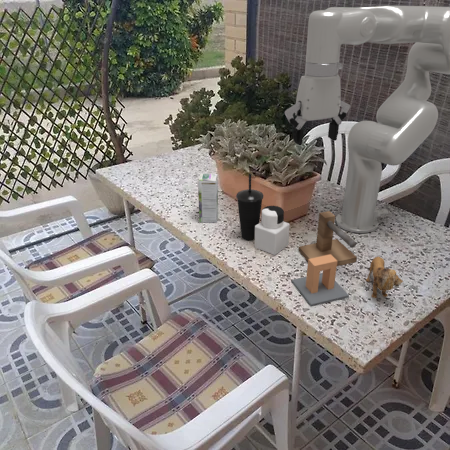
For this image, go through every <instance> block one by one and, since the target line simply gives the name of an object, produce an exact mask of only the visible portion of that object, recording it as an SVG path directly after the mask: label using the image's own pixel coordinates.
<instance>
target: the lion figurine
mask: <svg viewBox="0 0 450 450" xmlns="http://www.w3.org/2000/svg"><path fill="white" fill-rule="evenodd" d="M367 270H368V271H369V273H368V275H367V278H366V280H365V282H366V283H370V282H372V278H373V283H372V294H371V296H370V297H371V298H372V299H377V298H378V290H379V291H380V293H381V296H382V297H383V298H387V297H388V295H389V294H388V293H387V291H391V290H393V289H394V286H395V287H396V288H399V286H401V284H402V283H403V282H404V280H402V279H401V278H400V277H399V276H398V275H397V271H396V270H395V269H391V268H385V260H384V258H383V257H381V256H376V257H374V258H373V259H372V261H371V262H370V266H369V267H367Z"/></svg>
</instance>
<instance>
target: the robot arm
mask: <svg viewBox="0 0 450 450" xmlns="http://www.w3.org/2000/svg"><path fill="white" fill-rule="evenodd" d="M307 24H308V25H307V36H306V37H307V40H306V55H305V67H304V68H305V69H304V75H301V77H300V80H299V84H298V89H297V92H296V98H295V100H296V101H295V104H293V105H292V106H291V107H288V108H287V109H286V110H285V111H284V115H285V116H286V119H287V122H288V123H289V124H290V125H291V126H292V128H293V135H292V137H293V138H292V140H293V142H294V143H295V144H296V145H298V146H302V145H303V140H304V139H303V138H304V129H303V126H304V125H305V123H306V122H310V121H311V122H312V121H320V120H330V122H329V123H328V134H327V137H328V139H331V140H332V141H338V139H337V138H338V135H339V129H340V128H339V127H340V125H341V124H342V121H343V120H344V119H345V118H346V117H347V113H348V112H349V110H350V109H351V104H349V103H347V102H345V101H344V100H341V98H342V97H341V96H342V91H341V89H342V87H341V85H342V84H341V77H340V75H339V71H340V70H342V69H343V67H344V65H343V63H342V62H340V56H341V46H342V45H351V46H352V45H353V46H358V45H362V44H364V43H372V44H384V45H391V44H394V45H395V44H408V43H409V44H411V43H414V44H412V46H411V48H410V50H409V52H408V55H407V63H406V67H407V68H406V74H405V77H404V80H403V81H402V82H401V84H400V85H399V86H398V87H397V88H396V89H395V90H394V91H393V92H392V93H391V95H389V96H388V97H387V98H386V99H385V101H384V102H383V103H382V104H381V105H380V106H379V108H378V109H377V112H376V116H375V118H376V121H374V120H373V121H372V120H361V121H359V122H356V123H354V125H353V126H352V127H351V128H350V130H349V132H348V135H347V150H348V160H347V161H348V162H347V163H348V164H347V165H348V166H347V173H346V177H345V178H346V179H345V187H344V188H345V189H344V195H343V203H342V209H341V210H342V211H341V212H340V213H338V214H336V216H335V223H336V226H337V227H339V228H340V229H341V230H343V231H348V232H351V233H356V234H367V233H372V232H373V231H375V230H377V229H378V226H379V220H378V218H379V217H382V216H387V215H388V213H389V211H388V209H387V208H383V209H380V208H379V206H377V204H378V203H377V202H378V197H379V191H380V186H381V179H382V175H383V174H382V173H383V168H382V166H383V165H382V164H385V165H388V166H393V167H395V166H398V165H401V164H402V163H404V162H405V161H406V160H407V159H408V158H409V157H410V156H411V155H412V154H413V153H414V152H415V151H416V150H417V149H418V147H420V146H421V145H422V144H423V142H424V141H425V140H426V139H427V138H428V137H429V136H430V135H431V134H432V132H433V130H434V129H435V127H436V125H437V123H438V118H439V110H438V108H437V106H436V105H435V104H434V103H432V102H430V101H428V100H429V98H430V97H431V94H432V84H431V80H430V72H432V73H436V74H437V73H438V74H444V75H449V76H450V6H430V5H429V6H426V5H425V6H424V5H378V6H366V7H365V6H364V7H342V6H340V7H339V6H331V7H328V8H326V9H320V10H318V9H317V10H314V11H312V12H310V14H309V16H308V23H307ZM340 107H341V108H340ZM294 115H295V116H296V117H295V118H294Z"/></svg>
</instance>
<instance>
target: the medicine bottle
mask: <svg viewBox="0 0 450 450" xmlns="http://www.w3.org/2000/svg"><path fill="white" fill-rule="evenodd" d="M284 217H285V210H284V208H282V207H280V206H278V205H267V206H264V207H263V208H261V221H259V224H257V225H256V226H255V240H254V248H256V249H258V250H261V251H264V252H265V253H267V254H271V255H273V256H276V255H278V253H280V252H281V251H282V250H284V249H285V248H286V247H288V245H289V239H290V225H291V224H290V223H289V222H286V221H284Z"/></svg>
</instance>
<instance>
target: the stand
mask: <svg viewBox="0 0 450 450" xmlns="http://www.w3.org/2000/svg"><path fill="white" fill-rule="evenodd" d="M335 223H336V215H335V214H334V213H332V212H331V211H330V210H328V211H323V212H319V214H318V223H317V232H316V242H314V243H310V244H305V245H301V246H298V253H300V255H301V256H302V257H303V258H304V259H305V260H306V261H307V262H308V259H311V258H315V257H320V256H325V255H329V254H331V255H332V256H333V257H334V258H335V259H336V260H337V267H339V266H344V265H349V264H353V263H357V260H358V259H357V258H358V256H356V255H355V254H354V253H353V252H352V251H351V250H349V248H348V247H346V246H345V245H344V244H343V243H342V242H341V241H340V240H339V239H338V238H335V239H333V238H334V236H333V235H334V234H336V236H338V237H339V238H340V239H341V240H342V241H343V242H345V243H346V244H347V245H348V246H349V247H350V248H355V247H356V245H357V242H356V241H355V240H354V239H353V238H351V237H350V236H349V235H348V234H347V233H346V232H344V230H343V229H342V228H341V227H339V226H338V225H337V224H335Z"/></svg>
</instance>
